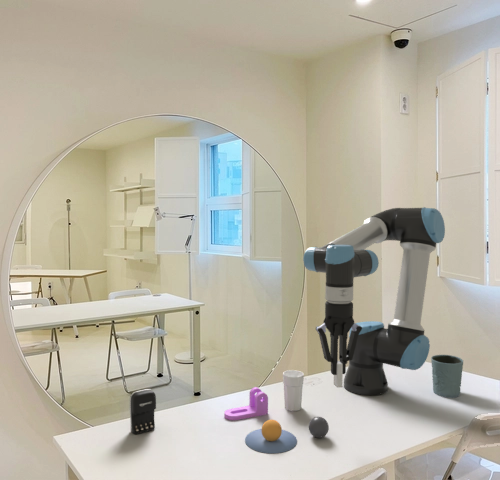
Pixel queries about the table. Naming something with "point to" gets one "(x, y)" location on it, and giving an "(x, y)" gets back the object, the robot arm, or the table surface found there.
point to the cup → (293, 389)
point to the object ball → (271, 430)
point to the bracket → (250, 407)
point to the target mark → (270, 442)
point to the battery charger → (142, 411)
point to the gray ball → (318, 427)
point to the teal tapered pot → (447, 375)
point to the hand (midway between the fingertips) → (337, 385)
